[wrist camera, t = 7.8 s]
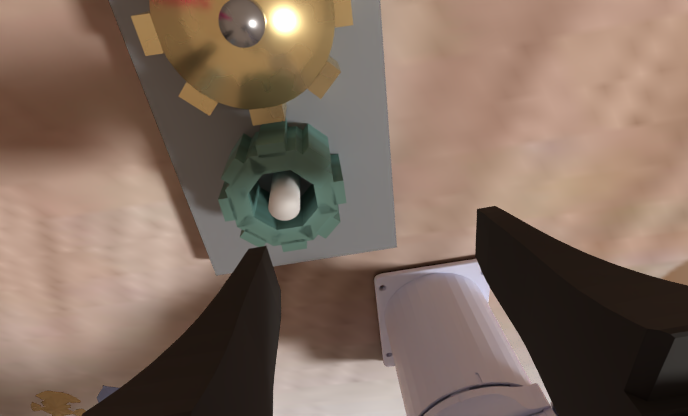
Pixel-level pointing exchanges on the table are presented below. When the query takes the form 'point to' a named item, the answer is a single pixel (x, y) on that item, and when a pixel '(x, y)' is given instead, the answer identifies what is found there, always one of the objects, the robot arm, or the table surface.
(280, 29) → the brass gear
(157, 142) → the table surface
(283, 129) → the loose gear
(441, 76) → the table surface
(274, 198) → the gear board
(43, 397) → the toy pieces
